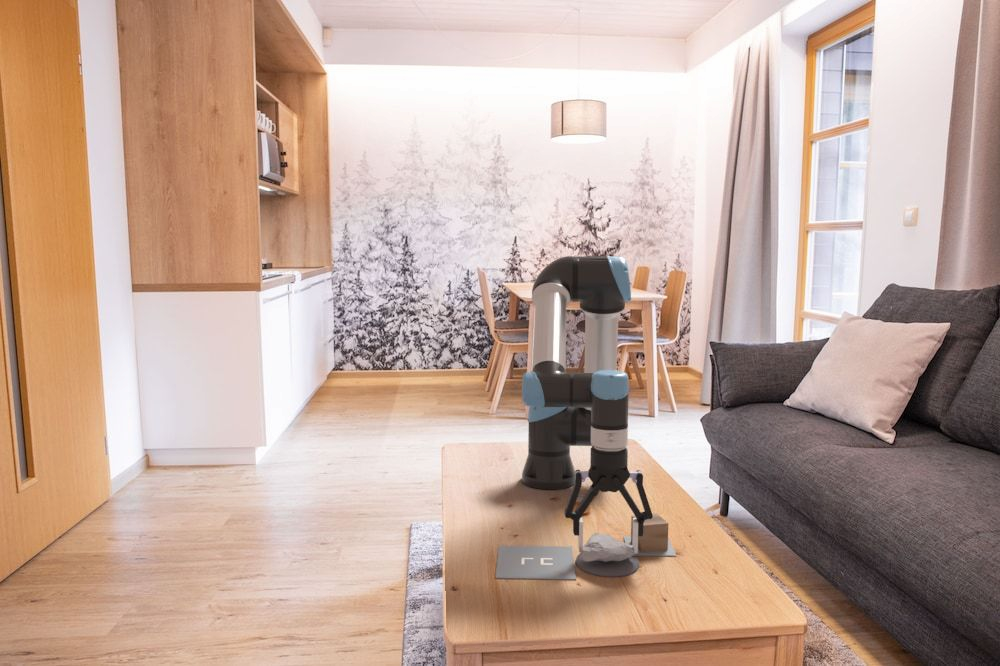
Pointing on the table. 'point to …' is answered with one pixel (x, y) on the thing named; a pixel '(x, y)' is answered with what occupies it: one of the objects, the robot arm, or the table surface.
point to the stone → (605, 549)
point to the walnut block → (652, 534)
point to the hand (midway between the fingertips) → (607, 550)
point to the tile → (654, 553)
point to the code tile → (535, 562)
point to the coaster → (609, 567)
